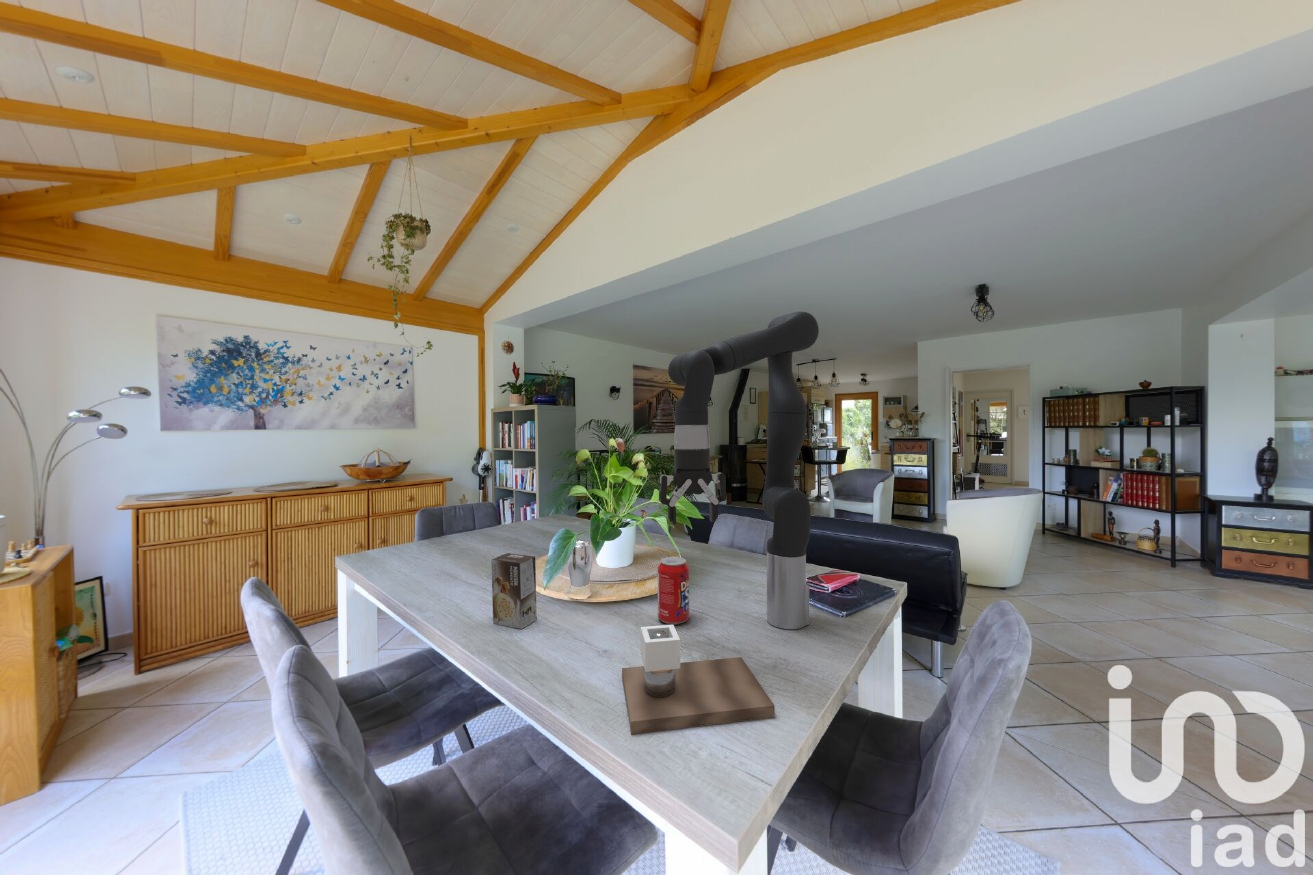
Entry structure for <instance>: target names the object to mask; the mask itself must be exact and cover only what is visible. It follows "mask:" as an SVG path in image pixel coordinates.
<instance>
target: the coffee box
mask: <svg viewBox="0 0 1313 875" xmlns="http://www.w3.org/2000/svg"><path fill="white" fill-rule="evenodd" d="M490 561H491V563H490V564H491V590H492V591H491V594H492V595H491V598H492V599H491V600H492V624H494V625H499V626H505V627H509V628H514V629H520V630H523V629H525V628H526V627H527V626H529V625H531V624H533V623H534V622H535V621H536V620H538V618H537V616H538V615H537V612H538V611H537V576H536V575H537V573H536V556H535V555H527V554H519V553H518V554H517V553H511V552H510V553H509V552H508V553H504V554H501V555H499V556H496V557H495V558H493V559H491V560H490Z"/></svg>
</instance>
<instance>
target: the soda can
mask: <svg viewBox="0 0 1313 875" xmlns="http://www.w3.org/2000/svg"><path fill="white" fill-rule="evenodd" d="M659 561H660V562H659V564H658V566H657V618H658V620H660V621H661V622H663V623H665V624H666V625H674V626H675V625H681V624H683V623H685V622H687V621H688V620H689V619H690V566H689V564H688V563H687V559H685V558H683V557H679V556H668V557H667V556H666V557H663V558H661V559H660V560H659Z"/></svg>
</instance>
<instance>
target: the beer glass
mask: <svg viewBox="0 0 1313 875" xmlns="http://www.w3.org/2000/svg"><path fill="white" fill-rule="evenodd" d="M592 548H593V547H592V542H590V541H587V540H576V546H575V547H574V549H573V552H572V555H571V556H570V558H569V560H568V561H567V569H568V575H569V580H570V581H569V582H570V586H571V585H572V586H574V587H582V586H586V585H588V584H589V582H591V581H590V580H591V574H592V567H593V566H592V565H593V550H592Z"/></svg>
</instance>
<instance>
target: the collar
mask: <svg viewBox="0 0 1313 875" xmlns="http://www.w3.org/2000/svg"><path fill="white" fill-rule="evenodd" d="M656 630H663V631H665V632H666V638H661V639H653V632H654V631H656ZM640 655H641V659H642V663H643V666H644V668H645V672H648V671H659V670H669V669H680V663H681V639H680V636H679V634H678V633H677V630H676V627H675V625H672V624H662V625H651V626H641V627H640Z"/></svg>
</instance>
